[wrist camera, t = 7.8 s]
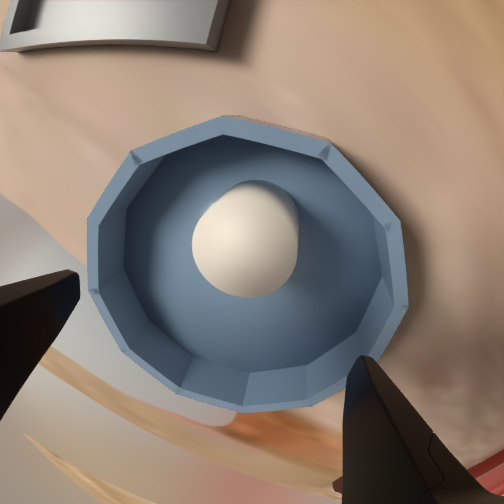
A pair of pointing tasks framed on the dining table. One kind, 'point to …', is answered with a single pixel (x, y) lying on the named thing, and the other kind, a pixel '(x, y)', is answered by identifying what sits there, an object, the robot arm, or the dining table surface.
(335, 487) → the ice cream bowl
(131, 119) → the dining table surface
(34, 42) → the parts tray
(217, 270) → the pebble sand
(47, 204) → the dining table surface
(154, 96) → the dining table surface
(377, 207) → the glazed bowl
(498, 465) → the plant saucer
